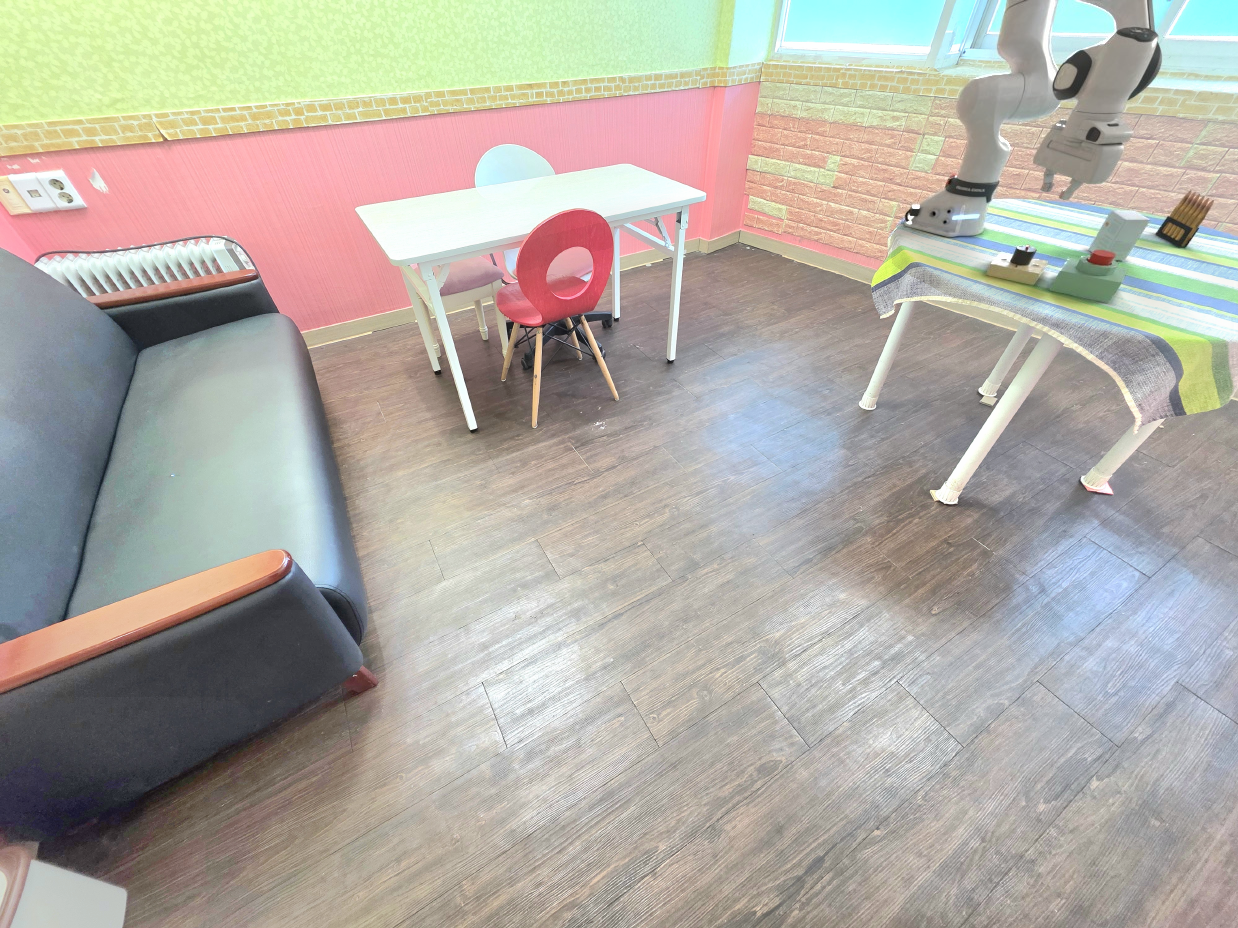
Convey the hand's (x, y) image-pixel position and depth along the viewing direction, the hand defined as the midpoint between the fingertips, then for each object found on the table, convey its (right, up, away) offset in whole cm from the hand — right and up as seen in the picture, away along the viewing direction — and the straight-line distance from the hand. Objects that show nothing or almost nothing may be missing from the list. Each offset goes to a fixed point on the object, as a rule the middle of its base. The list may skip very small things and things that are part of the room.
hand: (1054, 195), depth 118 cm
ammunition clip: (+55, 0, +24) cm, 60 cm away
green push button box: (+11, -21, +5) cm, 24 cm away
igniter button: (+11, -16, 0) cm, 20 cm away
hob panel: (+1, -14, +13) cm, 19 cm away
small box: (+31, -7, +19) cm, 37 cm away
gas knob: (+1, -12, +11) cm, 16 cm away
